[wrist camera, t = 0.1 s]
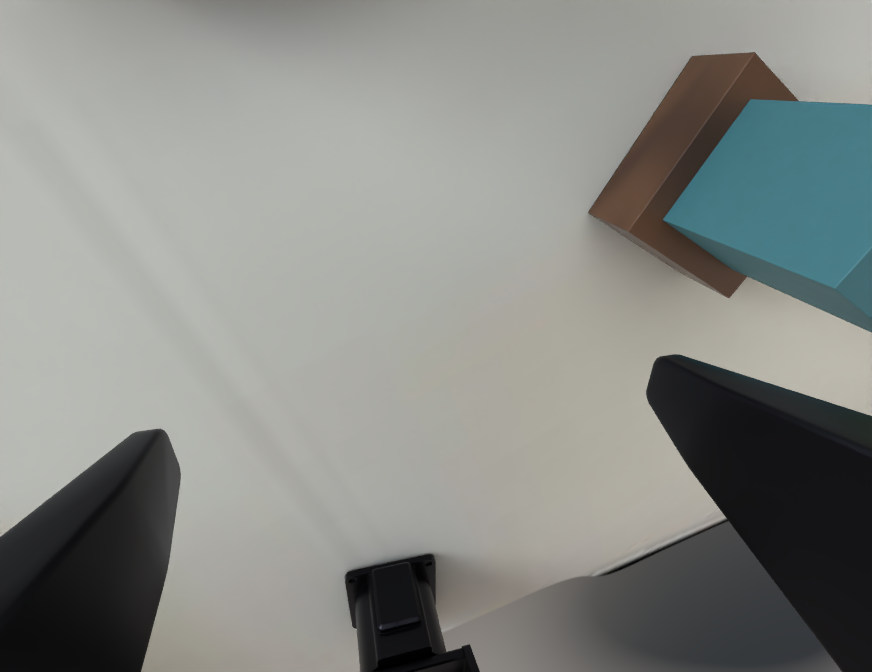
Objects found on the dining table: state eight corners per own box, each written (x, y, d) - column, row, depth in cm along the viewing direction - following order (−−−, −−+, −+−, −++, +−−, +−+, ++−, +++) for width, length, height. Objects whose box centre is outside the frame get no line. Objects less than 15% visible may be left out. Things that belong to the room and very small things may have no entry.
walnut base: (683, 274, 27) (729, 298, 24) (587, 212, 23) (628, 231, 21) (782, 145, 24) (848, 155, 21) (692, 55, 21) (754, 51, 18)
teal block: (732, 269, 23) (909, 349, 16) (662, 219, 21) (834, 288, 14) (816, 166, 21) (1054, 206, 14) (750, 98, 19) (997, 109, 12)
